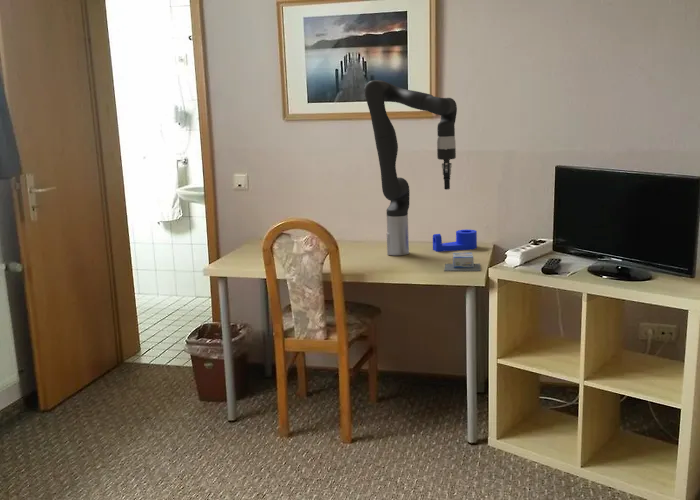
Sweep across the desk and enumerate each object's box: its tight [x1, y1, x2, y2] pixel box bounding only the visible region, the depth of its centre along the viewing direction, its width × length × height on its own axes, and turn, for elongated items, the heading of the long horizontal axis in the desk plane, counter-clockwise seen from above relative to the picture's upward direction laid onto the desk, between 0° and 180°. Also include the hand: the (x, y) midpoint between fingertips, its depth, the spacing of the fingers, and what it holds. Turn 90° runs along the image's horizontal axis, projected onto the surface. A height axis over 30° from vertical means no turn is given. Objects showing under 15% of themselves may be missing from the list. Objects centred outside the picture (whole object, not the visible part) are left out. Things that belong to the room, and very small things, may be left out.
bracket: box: [432, 229, 478, 253], centre depth 319 cm, size 20×9×8 cm, turn 103°
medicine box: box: [452, 252, 475, 268], centre depth 285 cm, size 8×4×9 cm
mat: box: [443, 263, 482, 272], centre depth 284 cm, size 14×11×1 cm
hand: (447, 189), depth 298 cm, fingers closed
